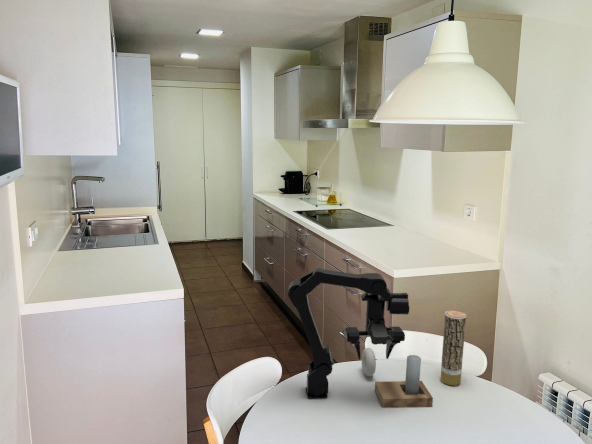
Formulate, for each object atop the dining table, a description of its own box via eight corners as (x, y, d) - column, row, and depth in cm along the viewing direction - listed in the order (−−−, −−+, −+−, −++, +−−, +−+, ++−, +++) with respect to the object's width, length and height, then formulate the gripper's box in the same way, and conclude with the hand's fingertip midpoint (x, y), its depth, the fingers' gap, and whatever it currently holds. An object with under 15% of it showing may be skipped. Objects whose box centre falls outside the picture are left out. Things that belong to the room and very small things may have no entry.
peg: (409, 402, 159) (412, 362, 157) (401, 395, 163) (404, 356, 161) (421, 399, 161) (423, 359, 158) (412, 393, 165) (415, 354, 162)
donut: (376, 381, 172) (377, 354, 170) (366, 382, 172) (367, 355, 170) (369, 368, 182) (370, 342, 180) (360, 368, 182) (361, 343, 180)
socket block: (382, 407, 156) (383, 399, 155) (374, 389, 167) (375, 381, 166) (432, 406, 157) (432, 397, 156) (421, 388, 168) (421, 380, 167)
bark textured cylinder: (461, 387, 169) (467, 318, 165) (441, 385, 170) (446, 316, 166) (459, 378, 176) (464, 311, 171) (439, 376, 177) (444, 309, 173)
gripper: (351, 323, 149) (349, 371, 152) (411, 322, 151) (408, 369, 153) (344, 310, 160) (343, 355, 163) (401, 309, 162) (398, 354, 164)
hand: (373, 358), depth 161 cm, fingers open, 9 cm apart
